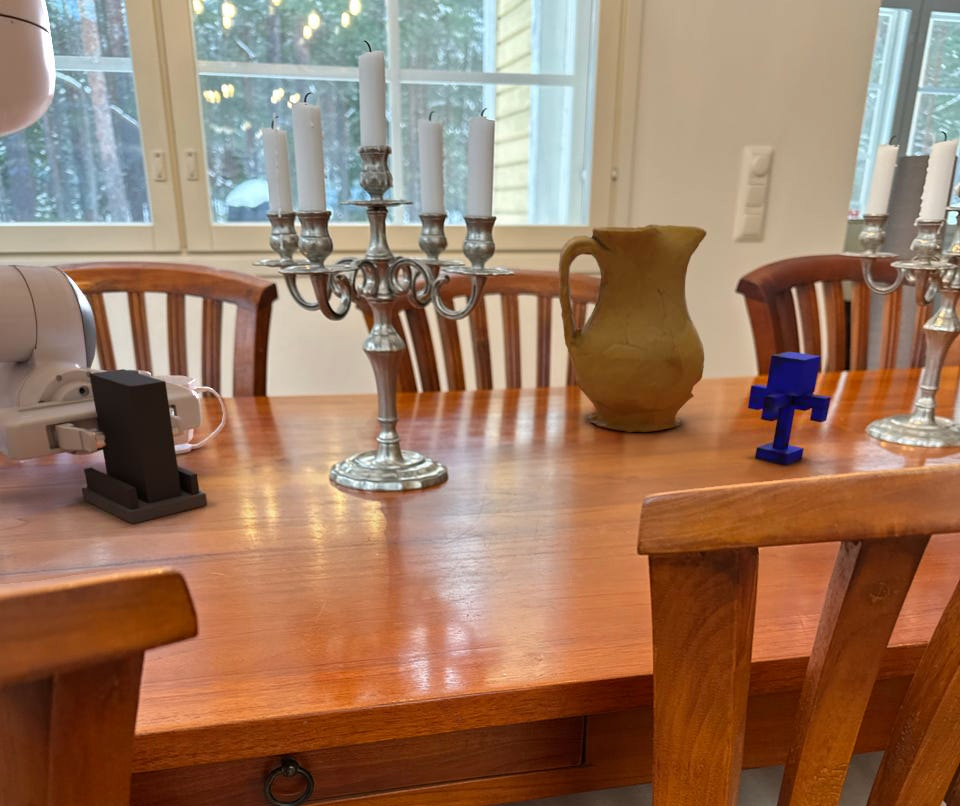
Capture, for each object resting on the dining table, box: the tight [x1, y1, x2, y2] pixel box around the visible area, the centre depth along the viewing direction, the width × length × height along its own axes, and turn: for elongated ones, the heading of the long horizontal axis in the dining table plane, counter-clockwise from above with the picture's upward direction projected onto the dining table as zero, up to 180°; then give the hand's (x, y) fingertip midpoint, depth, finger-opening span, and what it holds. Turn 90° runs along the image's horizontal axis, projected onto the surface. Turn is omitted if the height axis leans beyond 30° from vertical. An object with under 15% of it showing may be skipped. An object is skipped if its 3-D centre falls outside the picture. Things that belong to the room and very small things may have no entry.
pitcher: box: [558, 223, 707, 433], centre depth 118 cm, size 17×19×25 cm
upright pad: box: [89, 368, 181, 503], centre depth 86 cm, size 4×8×11 cm, turn 47°
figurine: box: [747, 351, 832, 466], centre depth 105 cm, size 8×8×12 cm
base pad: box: [81, 465, 208, 525], centre depth 89 cm, size 8×10×3 cm
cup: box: [151, 374, 227, 455], centre depth 105 cm, size 7×10×8 cm
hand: (138, 434), depth 86 cm, fingers open, 7 cm apart
